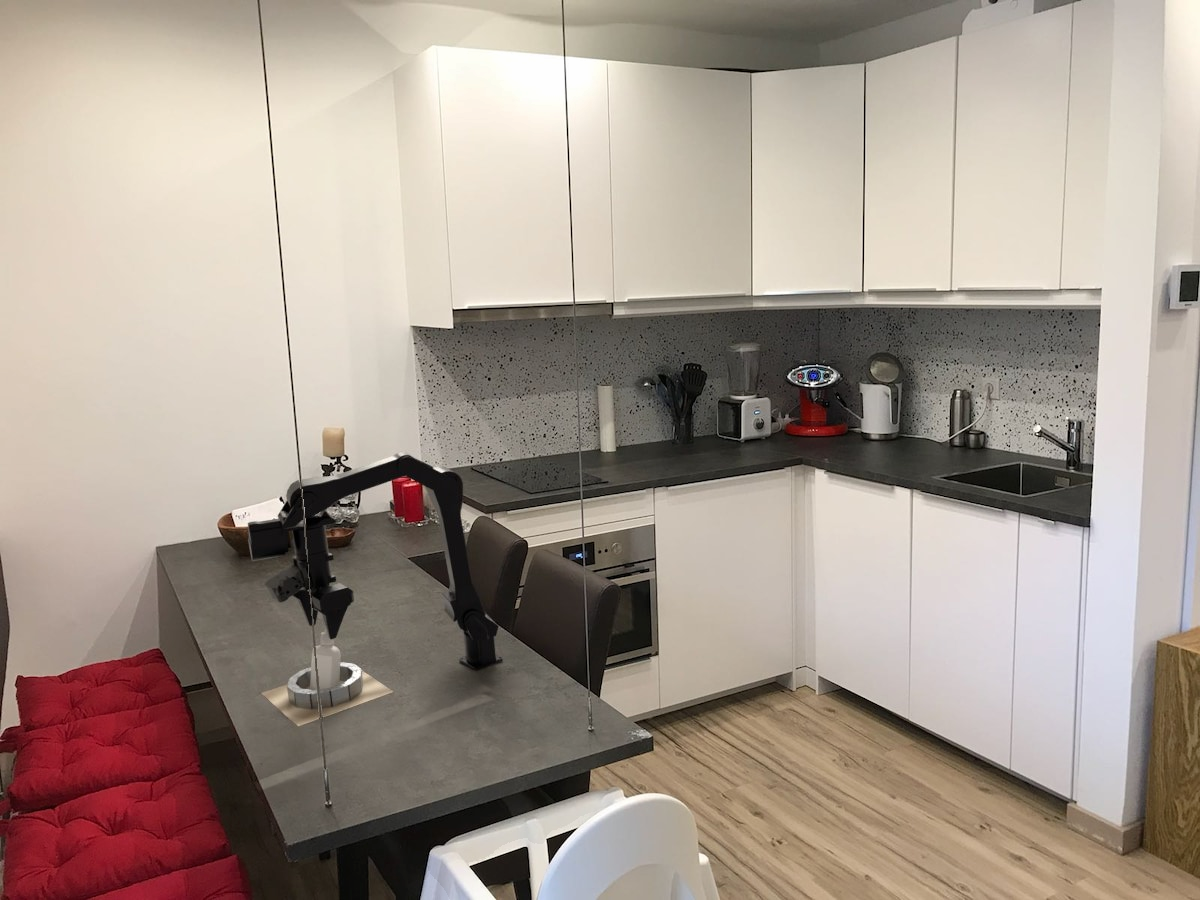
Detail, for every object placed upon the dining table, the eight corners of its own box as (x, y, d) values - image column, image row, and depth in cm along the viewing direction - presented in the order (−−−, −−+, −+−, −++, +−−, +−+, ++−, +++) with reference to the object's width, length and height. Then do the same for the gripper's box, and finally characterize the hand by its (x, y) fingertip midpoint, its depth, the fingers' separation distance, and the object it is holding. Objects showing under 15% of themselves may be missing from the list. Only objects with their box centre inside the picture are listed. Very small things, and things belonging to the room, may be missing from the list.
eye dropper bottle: (316, 695, 170) (320, 629, 170) (308, 687, 175) (311, 623, 175) (340, 693, 172) (344, 628, 172) (331, 685, 177) (335, 622, 177)
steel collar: (374, 691, 173) (372, 676, 172) (306, 716, 165) (304, 700, 164) (344, 670, 183) (343, 656, 182) (279, 693, 175) (277, 678, 174)
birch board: (394, 697, 173) (393, 691, 172) (299, 732, 162) (298, 726, 161) (352, 668, 186) (351, 663, 186) (261, 699, 175) (260, 693, 175)
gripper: (248, 550, 171) (260, 631, 174) (287, 573, 157) (299, 660, 160) (307, 536, 178) (318, 614, 181) (350, 556, 164) (360, 640, 167)
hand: (322, 631), depth 172 cm, fingers open, 9 cm apart
